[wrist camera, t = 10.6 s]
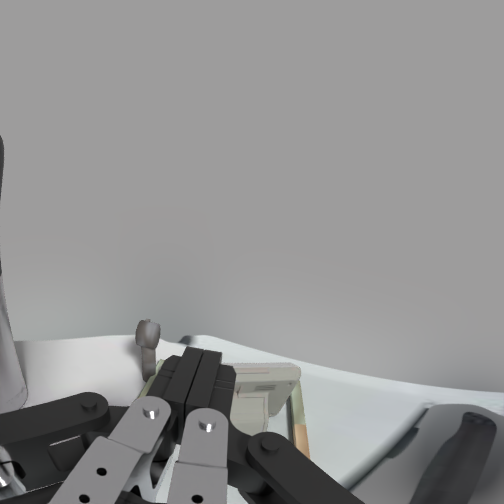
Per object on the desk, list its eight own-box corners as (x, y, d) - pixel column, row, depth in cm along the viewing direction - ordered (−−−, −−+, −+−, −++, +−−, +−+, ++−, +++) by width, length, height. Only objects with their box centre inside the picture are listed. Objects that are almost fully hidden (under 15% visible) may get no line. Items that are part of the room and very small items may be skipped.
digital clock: (281, 408, 39) (297, 347, 36) (288, 454, 30) (310, 392, 28) (167, 394, 38) (167, 330, 36) (152, 438, 29) (146, 372, 27)
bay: (94, 448, 25) (77, 388, 23) (147, 362, 44) (146, 309, 42) (310, 489, 25) (337, 436, 22) (298, 386, 44) (312, 335, 42)
